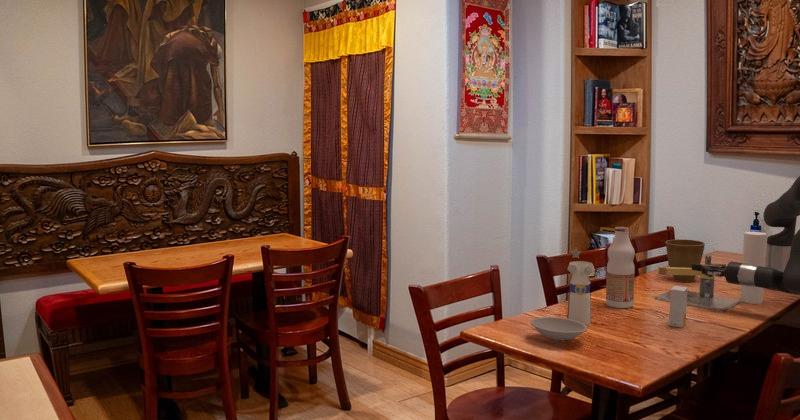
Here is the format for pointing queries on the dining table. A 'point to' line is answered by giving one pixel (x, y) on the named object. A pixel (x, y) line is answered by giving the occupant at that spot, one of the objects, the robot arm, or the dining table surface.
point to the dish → (558, 327)
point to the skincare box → (678, 306)
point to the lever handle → (681, 272)
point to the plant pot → (684, 256)
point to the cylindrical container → (756, 256)
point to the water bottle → (580, 290)
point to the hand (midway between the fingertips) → (692, 266)
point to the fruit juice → (620, 271)
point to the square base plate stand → (705, 295)
